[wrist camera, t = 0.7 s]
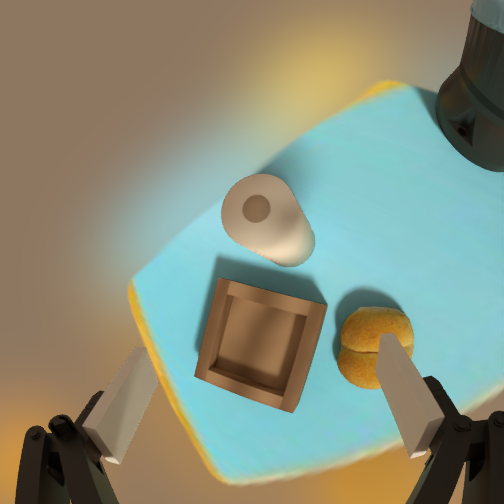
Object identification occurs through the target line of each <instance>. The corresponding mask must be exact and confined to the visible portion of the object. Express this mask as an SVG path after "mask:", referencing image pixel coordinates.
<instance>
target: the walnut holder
mask: <svg viewBox="0 0 504 504" xmlns="http://www.w3.org/2000/svg"><path fill="white" fill-rule="evenodd" d="M327 307H328V305H325V304H321V303H317V302H313V301H309V300H305V299H301V298H297V297H293V296H289V295H285V294H281V293H277V292H273V291H270V290H266V289H262V288H258V287H254V286H250V285H247V284H243V283H239V282H236V281H232V280H228V279H223V278H218V281H217V285H216V289H215V293H214V297H213V301H212V305H211V309H210V313H209V317H208V321H207V325H206V329H205V333H204V337H203V341H202V345H201V349H200V353H199V358H198V362H197V366H196V370H195V375H194V377H197V378H199V379H201V380H203V381H206V382H208V383H210V384H213V385H215V386H218V387H220V388H222V389H225V390H227V391H230V392H233V393H235V394H238V395H240V396H243V397H246V398H248V399H251V400H254V401H257V402H259V403H262V404H265V405H268V406H271V407H274V408H277V409H280V410H283V411H286V412H290V413H293V412H294V410H295V409H296V407H297V405H298V403H299V400H300V397H301V394H302V391H303V388H304V385H305V382H306V379H307V376H308V373H309V370H310V367H311V363H312V360H313V357H314V354H315V350H316V347H317V343H318V340H319V336H320V333H321V329H322V326H323V322H324V318H325V314H326V311H327Z"/></svg>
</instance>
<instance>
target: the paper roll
mask: <svg viewBox="0 0 504 504" xmlns="http://www.w3.org/2000/svg"><path fill="white" fill-rule="evenodd" d="M221 219H222V224H223V227H224V229H225V231H226V233H227V234H228V235H229V237H230V238H231V239H232V240H234V241H235V242H237V243H238V244H240V245H242V246H244V247H246V248H247V249H249V250H251V251H253V252H255V253H257V254H259V255H260V256H262V257H264V258H266V259H268V260H270V261H272V262H273V263H275V264H277V265H279V266H282V267H296V266H299V265H301V264H303V263H304V262H305V261H307V260H308V259H309V257H310V256H311V255H312V253H313V251H314V247H315V235H314V232H313V229H312V228H311V226H310V224H309V222H308V220H307V218H306V217H305V215H304V213H303V211H302V209H301V207H300V206H299V204H298V202H297V200H296V199H295V197H294V195H293V193H292V191H291V190H290V188H289V187H288V185H287V184H286V183H285V182H284V181H282V180H281V179H279V178H278V177H275V176H273V175H269V174H255V175H251V176H248V177H246V178H244V179H242V180H240V181H239V182H237V183H236V184H235V185H234V186H233V187H232V188H231V189H230V190H229V192H228V193H227V195H226V197H225V199H224V202H223V205H222V210H221Z"/></svg>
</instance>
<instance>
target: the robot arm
mask: <svg viewBox="0 0 504 504" xmlns="http://www.w3.org/2000/svg"><path fill="white" fill-rule="evenodd" d="M470 11H471V17H470V22H469V28H468V33H467V37H466V42H465V47H464V50H463V54H462V58H461V62H460V65H459V66H458V67H457V69H456V70H455V71H454V72H453V73H452V74H451V75H450V76H449V77H448V78H447V79H446V80H445V81H444V83H443V84H442V85H441V87H440V90H439V93H438V96H437V100H436V115H437V119H438V122H439V124H440V126H441V128H442V130H443V132H444V134H445V135H446V137H447V138H448V140H449V141H450V142H451V144H452V145H453V146H454V147H455V148H456V149H457V150H458V151H459V152H460V153H461V154H462V155H463V156H464V157H466V158H467V159H468V160H470V161H471V162H473V163H474V164H476V165H478V166H480V167H482V168H484V169H487V170H490V171H494V172H504V0H473V3H472V4H471V7H470ZM375 374H376V376H377V378H378V381H379V383H380V385H381V388H382V390H383V392H384V395H385V397H386V399H387V402H388V404H389V406H390V409H391V411H392V414H393V416H394V419H395V421H396V424H397V426H398V429H399V431H400V434H401V436H402V439H403V441H404V444H405V446H406V449H407V451H408V454H409V457H410V459H411V458H414V457H417V456H421V455H424V454H425V453H426V451H427V449H428V448H430V450H431V452H432V453H431V455H430V457H429V458H428V460H427V462H426V463H425V465H426V466H425V468H424V470H423V472H422V474H421V476H420V478H419V480H418V482H417V484H416V486H415V488H414V490H413V491H412V493H411V495H410V497H409V499H408V500H407V502H406V504H448V503H449V501H450V498H451V496H452V494H453V492H454V489H455V487H456V484H457V481H458V479H459V476H460V473H461V471H462V468H463V465H464V462H466V471H465V481H464V490H463V498H462V504H504V411H495V412H493V413H492V414H491V415H490V417H489V419H488V420H480V421H472V420H471V419H470V418H469V417H467V416H465V415H460V414H459V412H458V410H457V409H456V407H455V406H454V404H453V402H452V401H451V399H450V398H449V396H448V395H447V393H446V391H445V390H444V389H443V387H442V385H441V384H440V382H439V381H438V380H437V379H435V378H434V377H433V376H428V377H424V378H422V377H421V375H420V373H419V372H418V370H417V369H416V367H415V365H414V364H413V362H412V361H411V359H410V357H409V356H408V354H407V353H406V351H405V350H404V348H403V346H402V345H401V343H400V342H399V340H398V339H397V337H396V336H395V334H394V333H386V334H381V337H380V344H379V350H378V357H377V363H376V369H375ZM157 385H158V381H157V378H156V375H155V372H154V369H153V367H152V364H151V361H150V358H149V355H148V352H147V349H146V347H134V349H133V350H132V352H131V353H130V355H129V356H128V358H127V359H126V360H125V362H124V364H123V365H122V366H121V368H120V369H119V371H118V372H117V374H116V375H115V376H114V378H113V379H112V381H111V382H110V384H109V385H108V387H107V388H106V390H105V391H99V392H97V393H96V394H95V395H93V396H92V398H91V399H90V401H89V403H88V404H87V405H86V407H85V409H84V410H83V411H82V412H81V414H80V415H79V417H78V419H77V420H76V421H75V423H73V422H72V420H71V419H70V417H68V416H67V415H63V414H62V415H57V416H55V417H53V418H52V419H51V420H50V422H49V425H48V427H49V429H50V430H51V432H52V433H47V432H46V431H45V430H44V428H43V427H41V426H33V427H31V428H29V429H28V431H27V432H26V434H25V439H24V444H23V449H22V454H21V460H20V465H19V472H18V479H17V488H16V498H15V504H70V499H71V503H72V504H119V502H118V501H117V498H116V496H115V494H114V491H113V489H112V487H111V484H110V482H109V479H108V477H107V474H106V472H105V469H104V467H103V464H102V462H101V461H100V457H101V455H103V456H104V458H105V459H106V460H107V461H109V462H113V463H117V464H120V463H121V461H122V459H123V457H124V455H125V452H126V450H127V448H128V446H129V444H130V442H131V439H132V437H133V435H134V433H135V431H136V429H137V427H138V424H139V422H140V420H141V418H142V416H143V414H144V412H145V409H146V408H147V405H148V403H149V401H150V399H151V397H152V395H153V393H154V391H155V389H156V387H157Z"/></svg>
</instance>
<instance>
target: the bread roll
mask: <svg viewBox="0 0 504 504" xmlns="http://www.w3.org/2000/svg"><path fill="white" fill-rule="evenodd" d="M386 333H394V334H395V336H396V337H397V339H398V340H399V342H400V343H401V345H402V346H403V348H404V350H405V351H406V353H407V354H408V356H409V357H410V359H411V358H412V354H413V343H414V333H413V329H412V326H411V323H410V320H409V318H408V317H407V316H406V315H405V314H404V313H403V312H401V311H399V310H398V309H396V308H390V307H376V306H371V307H365V306H364V307H359V308H358V309H357V310H356V311H355V312H353V313H352V314H351V315H349V316H348V317H347V319H346V320H345V322H344V324H343V326H342V329H341V333H340V340H341V350H340V352H339V355H338V358H337V365H338V368H339V370H340V372H341V373H342V375H343V376H344V377H345V378H346V379H347V380H348V381H349V382H350V383H352V384H354V385H356V386H358V387H360V388H364V389H379V388H381V385H380V383H379V381H378V378H377V376H376V374H375V369H376V363H377V357H378V350H379V344H380V337H381V334H386Z"/></svg>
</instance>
